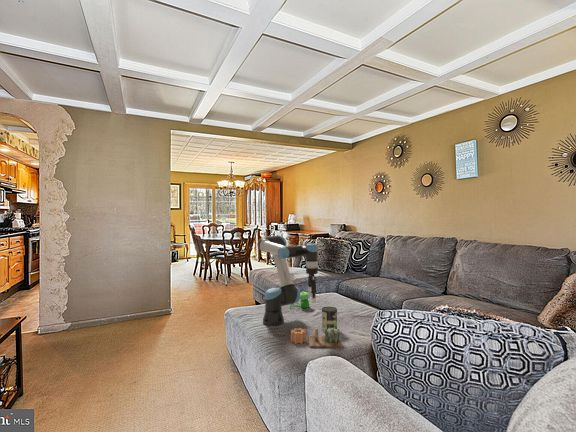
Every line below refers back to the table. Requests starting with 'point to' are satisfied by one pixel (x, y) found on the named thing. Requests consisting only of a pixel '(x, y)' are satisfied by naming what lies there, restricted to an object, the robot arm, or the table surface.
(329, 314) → the coffee can
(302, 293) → the toy character
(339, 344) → the gear board
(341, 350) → the table surface
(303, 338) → the loose gear
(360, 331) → the table surface
